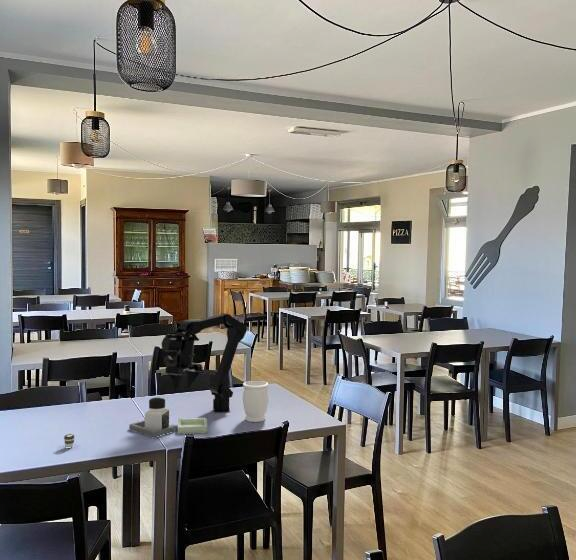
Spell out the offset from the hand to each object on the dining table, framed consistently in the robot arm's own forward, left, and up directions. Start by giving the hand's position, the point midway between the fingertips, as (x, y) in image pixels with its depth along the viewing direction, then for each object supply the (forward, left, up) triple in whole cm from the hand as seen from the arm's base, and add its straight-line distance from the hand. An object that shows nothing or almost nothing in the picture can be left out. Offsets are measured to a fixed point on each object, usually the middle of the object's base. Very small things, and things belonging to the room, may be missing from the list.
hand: (182, 389), depth 232 cm
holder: (+11, +14, -12) cm, 22 cm away
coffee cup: (+38, +29, -13) cm, 50 cm away
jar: (-30, +4, -13) cm, 32 cm away
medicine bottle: (+9, +12, -13) cm, 20 cm away
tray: (-4, +13, -12) cm, 18 cm away
